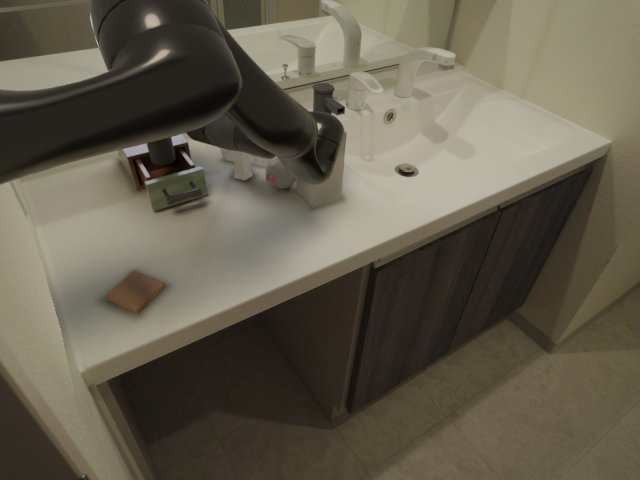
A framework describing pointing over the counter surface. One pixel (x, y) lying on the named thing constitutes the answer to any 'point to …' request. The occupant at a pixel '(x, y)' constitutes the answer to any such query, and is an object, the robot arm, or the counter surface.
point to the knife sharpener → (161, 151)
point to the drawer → (171, 180)
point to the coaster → (135, 291)
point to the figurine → (278, 174)
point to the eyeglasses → (258, 160)
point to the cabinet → (142, 151)
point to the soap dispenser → (333, 185)
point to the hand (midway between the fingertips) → (138, 101)
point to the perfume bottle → (242, 165)
